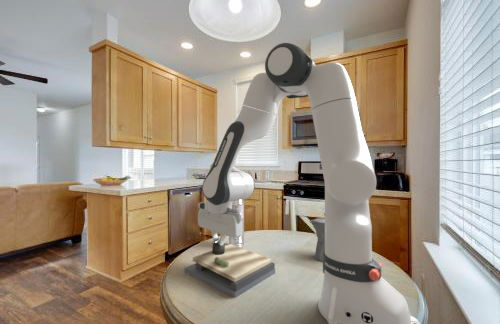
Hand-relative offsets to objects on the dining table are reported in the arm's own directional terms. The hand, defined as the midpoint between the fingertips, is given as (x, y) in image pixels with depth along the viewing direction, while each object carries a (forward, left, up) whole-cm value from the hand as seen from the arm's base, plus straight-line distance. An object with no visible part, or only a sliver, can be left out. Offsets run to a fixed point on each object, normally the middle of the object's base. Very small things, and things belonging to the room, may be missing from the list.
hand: (218, 244), depth 85 cm
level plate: (-7, 0, -4) cm, 8 cm away
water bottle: (+10, -20, -9) cm, 24 cm away
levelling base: (-6, 0, -8) cm, 10 cm away
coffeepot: (-27, -35, -9) cm, 45 cm away
